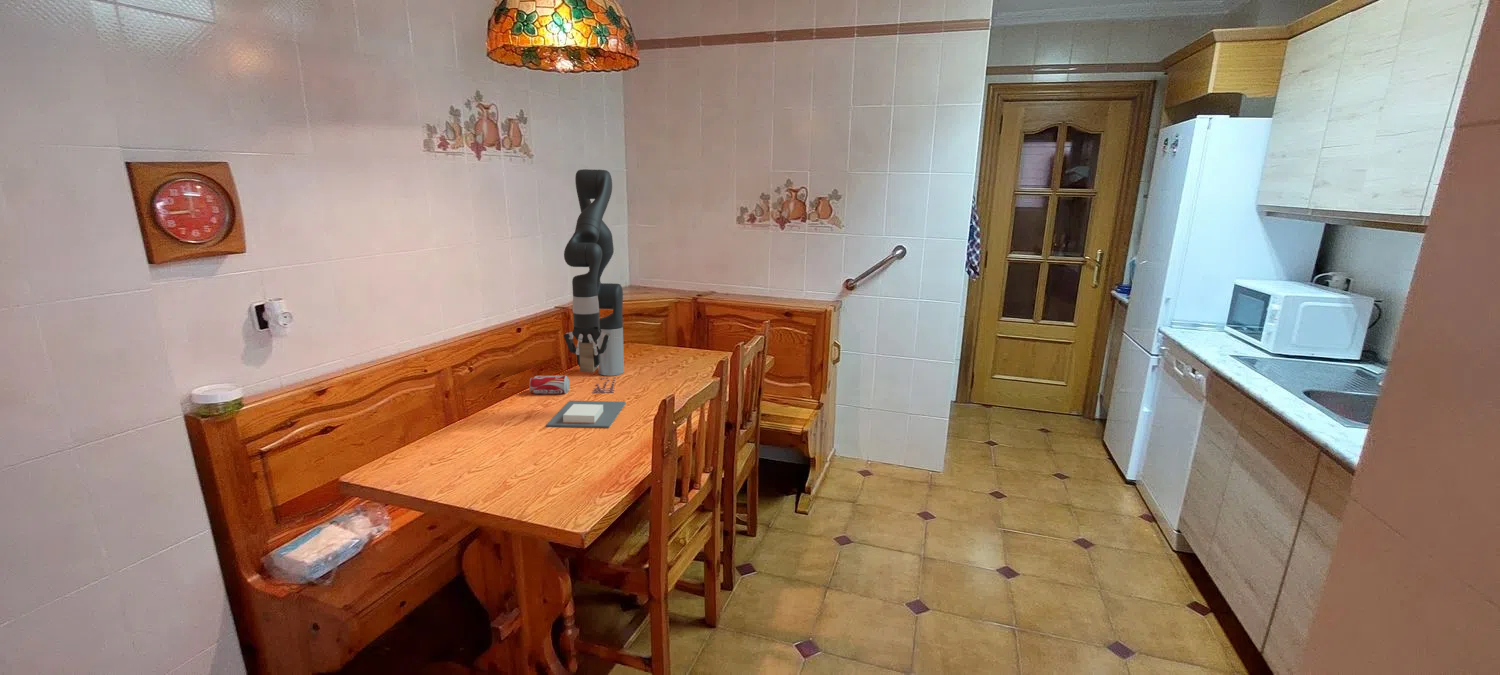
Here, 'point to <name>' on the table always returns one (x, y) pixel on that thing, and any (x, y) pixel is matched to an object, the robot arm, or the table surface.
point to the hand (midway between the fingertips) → (588, 365)
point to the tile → (583, 413)
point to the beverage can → (549, 385)
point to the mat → (604, 421)
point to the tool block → (586, 357)
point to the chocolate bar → (604, 387)
